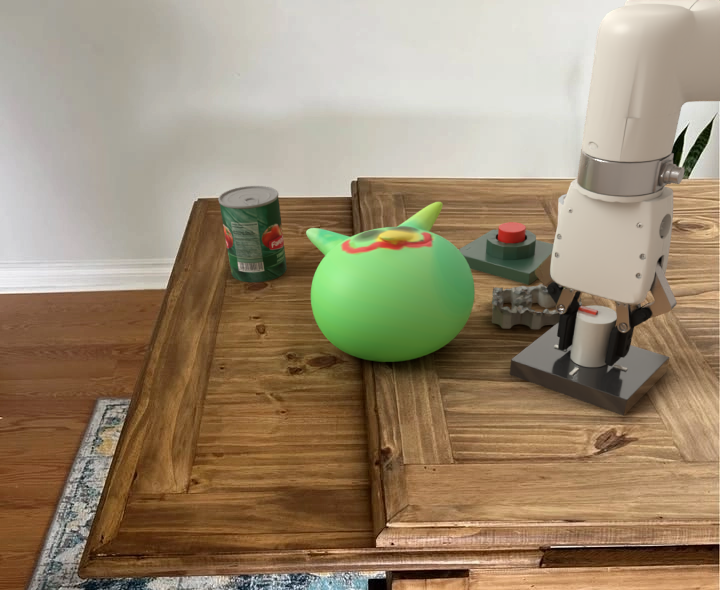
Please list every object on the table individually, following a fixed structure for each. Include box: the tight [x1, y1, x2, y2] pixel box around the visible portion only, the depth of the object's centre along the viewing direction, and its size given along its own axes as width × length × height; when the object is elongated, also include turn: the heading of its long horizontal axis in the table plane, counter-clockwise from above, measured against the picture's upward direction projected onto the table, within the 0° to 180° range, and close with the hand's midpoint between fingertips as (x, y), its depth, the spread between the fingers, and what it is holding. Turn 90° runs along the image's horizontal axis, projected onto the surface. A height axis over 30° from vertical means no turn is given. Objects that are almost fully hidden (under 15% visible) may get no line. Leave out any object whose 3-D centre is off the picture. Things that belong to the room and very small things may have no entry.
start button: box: [497, 221, 527, 243], centre depth 98 cm, size 4×4×2 cm
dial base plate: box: [509, 323, 670, 417], centre depth 77 cm, size 13×10×3 cm
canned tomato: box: [217, 185, 288, 283], centre depth 99 cm, size 8×8×11 cm
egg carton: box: [491, 283, 583, 330], centre depth 87 cm, size 11×8×4 cm
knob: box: [570, 304, 617, 367], centre depth 75 cm, size 4×4×5 cm
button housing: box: [457, 229, 554, 286], centre depth 100 cm, size 12×10×4 cm
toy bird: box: [305, 201, 476, 363], centre depth 81 cm, size 18×17×15 cm
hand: (591, 350), depth 76 cm, fingers open, 4 cm apart
